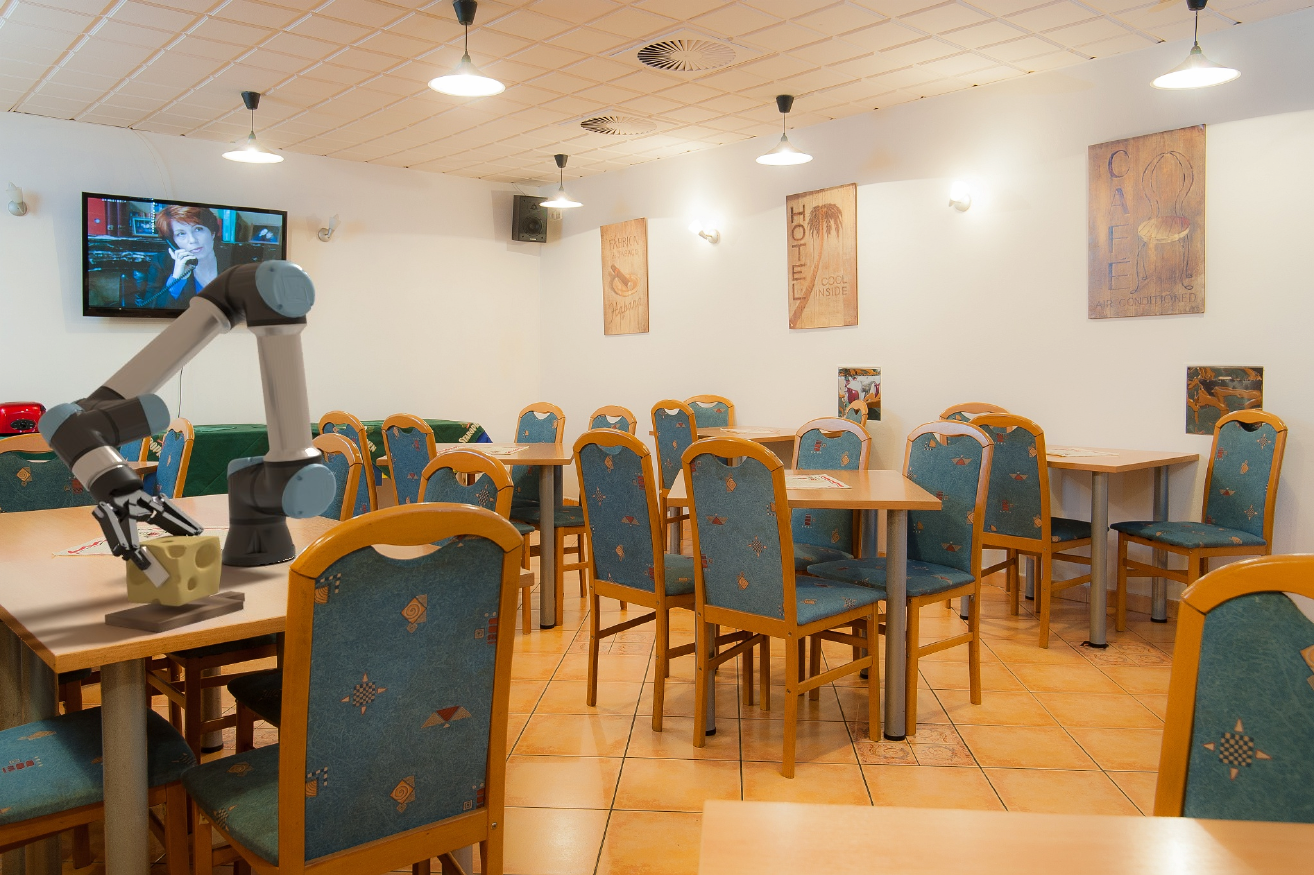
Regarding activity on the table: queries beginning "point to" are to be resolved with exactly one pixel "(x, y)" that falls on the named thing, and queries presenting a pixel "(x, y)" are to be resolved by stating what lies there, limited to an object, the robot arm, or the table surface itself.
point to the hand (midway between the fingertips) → (189, 574)
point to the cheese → (178, 570)
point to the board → (176, 612)
